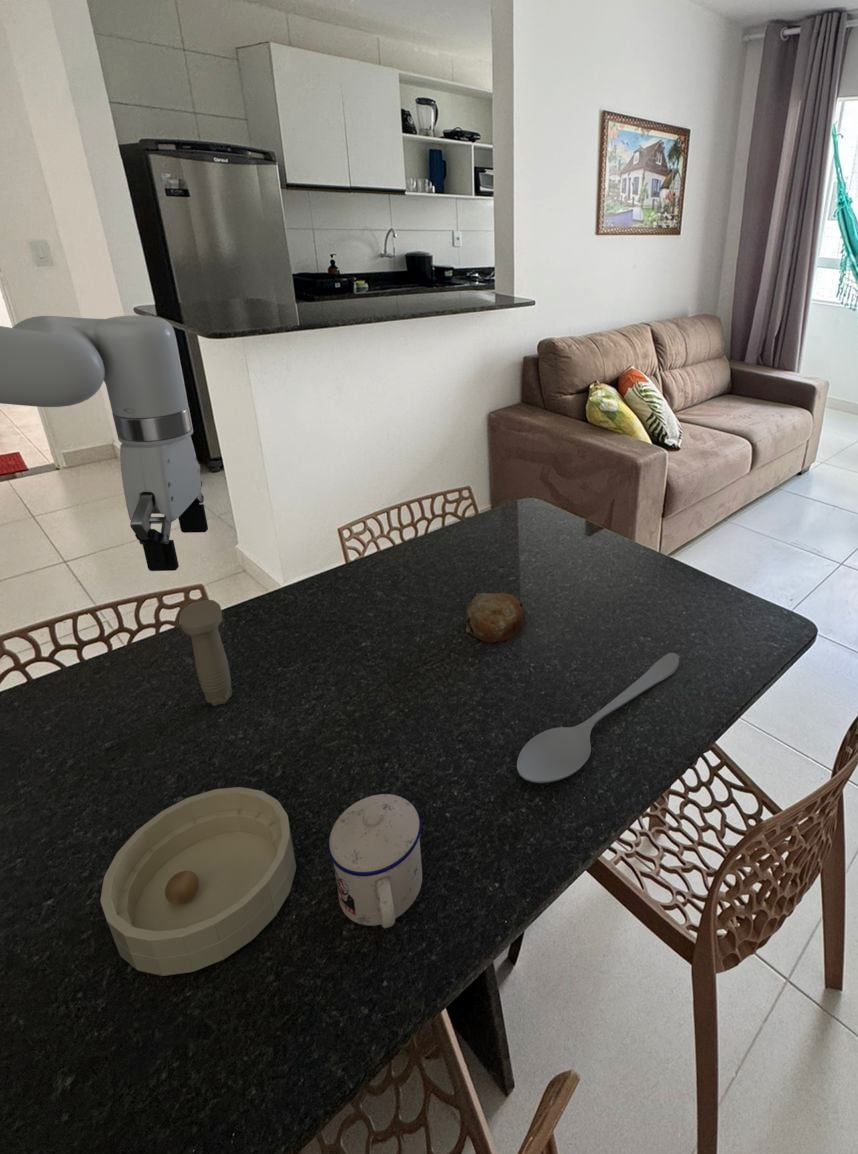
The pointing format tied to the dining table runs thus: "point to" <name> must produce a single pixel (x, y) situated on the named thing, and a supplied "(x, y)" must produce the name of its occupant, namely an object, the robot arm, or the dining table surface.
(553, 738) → the spoon
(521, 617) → the bread roll
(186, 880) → the egg
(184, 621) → the handle
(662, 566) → the dining table surface
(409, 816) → the teacup with lid
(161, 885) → the bowl
